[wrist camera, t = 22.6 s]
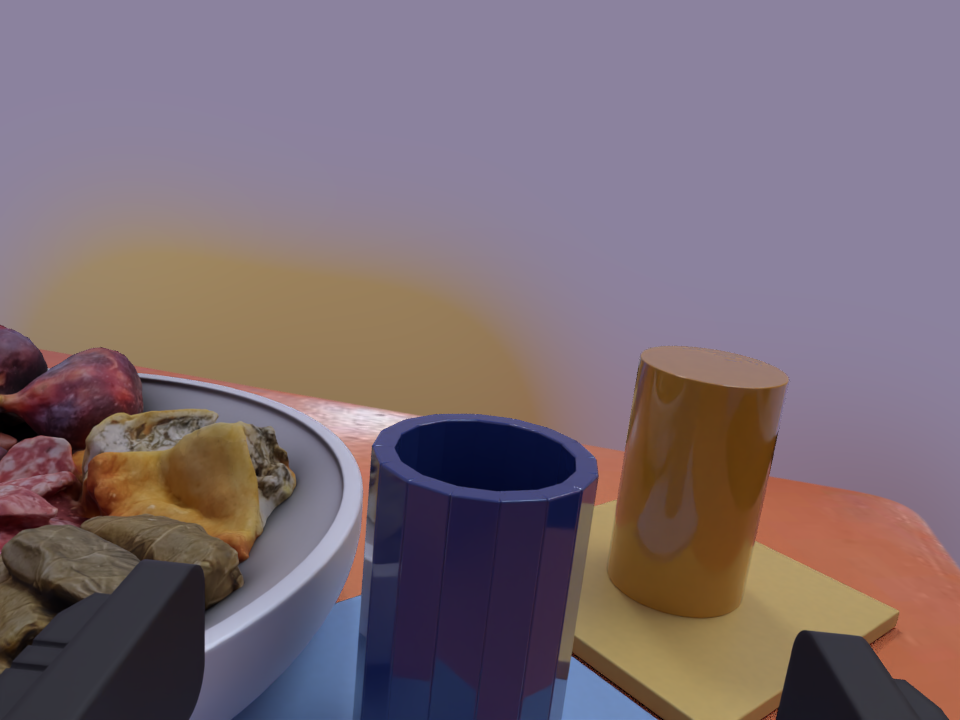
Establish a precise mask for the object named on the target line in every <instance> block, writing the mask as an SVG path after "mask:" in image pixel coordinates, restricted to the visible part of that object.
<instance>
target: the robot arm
mask: <svg viewBox="0 0 960 720" xmlns="http://www.w3.org/2000/svg"><path fill="white" fill-rule="evenodd" d="M204 667H205V577H204V572H203V569H202V567H201V566H200V565H197V564H187V563H178V562H168V561H158V560H149V559H144V560H142V561H140V562H139V563H138V564H137V565H136V566H135V567H134V569H133V570H132V571H131V572H130V573H129V574H128V575H127V577H126V578H125V579H124V580H123V581H122V582H121V583H120V585H119V586H118V587H117V588H116V589H115V590H114V591H113V593H112V594H105V593H93V594H92V595H90V596H88V597H86V598H84V599H83V600H81V601H79V602H77V603H76V604H74V605H72V606H70V607H69V608H67V609H65V610H63V611H61V612H60V613H58V614H57V615H56V616H55V617H54V618H53V619H52V620H51V621H50V622H49V624H48V625H47V626H46V627H45V628H44V629H43V630H42V631H41V632H40V633H39V634H38V635H37V636H36V637H35V638H34V639H33V643H32V645H28V646H27V647H26V648H25V649H24V650H23V651H22V652H21V653H20V654H19V655H18V656H17V657H16V658H15V659H14V660H13V661H12V665H11V667H10V668H6V669H5V670H4V671H3V672H2V673H1V674H0V720H189V719H190V717H191V715H192V713H193V711H194V709H195V706H196V704H197V701H198V698H199V694H200V691H201V687H202V682H203V676H204ZM776 720H949V719H948V718H947V716H946V715H945V714H944V712H943V711H942V709H940V708H939V707H938V706H937V705H935V704H934V703H933V702H932V701H930V700H929V699H928V698H927V697H925V696H924V695H923V694H922V693H920V692H919V691H918V690H917V689H915V688H914V687H913V686H912V685H910V684H909V683H908V682H907V681H906V680H901V679H893V678H892V677H891V675H890V674H889V672H888V671H887V669H886V668H885V666H884V665H883V664H882V662H881V661H880V659H879V658H878V656H877V655H876V653H875V652H874V651H873V649H872V648H871V646H870V645H869V643H868V642H867V641H866V640H865V639H864V638H863V637H861V636H857V635H847V634H838V633H828V632H819V631H809V630H802V631H800V632H799V633H798V635H797V636H796V638H795V640H794V643H793V647H792V651H791V656H790V660H789V664H788V669H787V673H786V677H785V682H784V686H783V690H782V695H781V699H780V703H779V708H778V712H777V717H776Z"/></svg>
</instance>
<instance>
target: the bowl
mask: <svg viewBox="0 0 960 720" xmlns="http://www.w3.org/2000/svg"><path fill="white" fill-rule="evenodd" d="M362 504H363V485H362V477H361V473H360V470H359V467H358V465H357V462H356V460H355V458H354V457H353V455H352V453H351V452H350V450H349V449H348V448H347V447H346V445H345V444H344V443H343V442H342V441H341V440H340V439H339V438H338V437H337V436H336V435H335V434H334V433H333V432H331V431H330V430H329V429H328V428H326V427H325V426H324V425H322V424H321V423H319V422H318V421H316V420H314V419H313V418H311V417H309V416H307V415H306V414H304V413H302V412H300V411H298V410H296V409H293V408H291V407H289V406H286V405H284V404H281V403H279V402H276V401H274V400H271V399H268V398H265V397H262V396H259V395H256V394H252V393H249V392H245V391H242V390H237V389H233V388H229V387H225V386H220V385H216V384H211V383H206V382H200V381H195V380H188V379H182V378H175V377H168V376H160V375H151V374H141V373H137V371H136V369H135V367H134V366H133V365H132V364H131V362H130V361H129V360H128V359H127V358H126V356H125V355H123V354H121V353H119V352H118V351H113V350H109V349H106V348H102V347H101V348H93V349H88V350H86V351H83V352H79V353H77V354H74V355H72V356H70V357H69V358H67V359H66V360H64V361H63V362H61V363H60V364H58V365H56V366H54V367H52V368H50V369H48V367H47V364H46V362H45V360H44V358H43V355H42V353H41V352H40V350H39V349H38V348H37V347H36V346H35V345H34V344H33V343H32V342H31V340H30V339H29V338H28V337H25V336H23V335H22V334H20V333H19V332H16V331H15V330H12V329H7V328H6V327H4V326H1V325H0V674H1V673H2V672H3V671H4V670H5V669H6V668H10V667H11V665H12V661H13V660H14V659H15V658H16V657H17V656H18V655H19V654H20V653H21V652H22V651H23V650H24V649H25V648H26V647H27V646H28V645H32V643H33V639H34V638H35V637H36V636H37V635H38V634H39V633H40V632H41V631H42V630H43V629H44V628H45V627H46V626H47V625H48V624H49V622H50V621H51V620H52V619H53V618H54V617H55V616H56V615H57V614H58V613H60V612H61V611H63V610H65V609H67V608H69V607H70V606H72V605H74V604H76V603H77V602H79V601H81V600H83V599H84V598H86V597H88V596H90V595H92V594H93V593H105V594H112V593H113V591H114V590H115V589H116V588H117V587H118V586H119V585H120V583H121V582H122V581H123V580H124V579H125V578H126V577H127V575H128V574H129V573H130V572H131V571H132V570H133V569H134V567H135V566H136V565H137V564H138V563H139V562H140V561H142V560H144V559H149V560H158V561H168V562H178V563H187V564H197V565H200V566H201V567H202V569H203V572H204V577H205V667H204V676H203V682H202V687H201V691H200V694H199V698H198V701H197V704H196V706H195V709H194V711H193V713H192V715H191V717H190V719H189V720H231V719H232V718H234V717H235V716H236V715H237V714H239V713H240V712H241V711H242V710H244V709H245V708H246V707H247V706H248V705H249V704H250V703H252V702H253V701H254V700H255V699H256V698H257V697H258V696H260V695H261V694H262V693H263V692H264V691H265V690H266V689H267V688H268V687H269V686H270V685H271V684H272V683H273V682H274V681H275V680H276V679H277V678H278V677H279V676H280V675H281V674H282V673H283V672H284V671H285V670H286V669H287V668H288V667H289V666H290V664H291V663H292V662H293V661H294V660H295V659H296V658H297V656H298V655H299V654H300V653H301V652H302V651H303V650H304V648H305V647H306V646H307V644H308V643H309V642H310V640H311V639H312V638H313V636H314V635H315V634H316V632H317V631H318V629H319V628H320V627H321V625H322V624H323V622H324V621H325V619H326V617H327V616H328V614H329V613H330V611H331V609H332V608H333V606H334V604H335V602H336V601H337V599H338V597H339V595H340V593H341V591H342V588H343V586H344V584H345V582H346V580H347V577H348V575H349V572H350V569H351V566H352V564H353V560H354V557H355V554H356V550H357V545H358V541H359V536H360V531H361V520H362Z"/></svg>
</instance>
